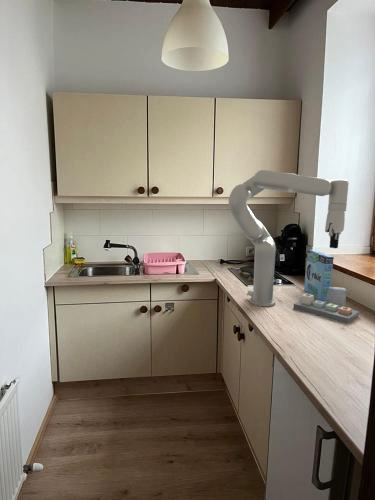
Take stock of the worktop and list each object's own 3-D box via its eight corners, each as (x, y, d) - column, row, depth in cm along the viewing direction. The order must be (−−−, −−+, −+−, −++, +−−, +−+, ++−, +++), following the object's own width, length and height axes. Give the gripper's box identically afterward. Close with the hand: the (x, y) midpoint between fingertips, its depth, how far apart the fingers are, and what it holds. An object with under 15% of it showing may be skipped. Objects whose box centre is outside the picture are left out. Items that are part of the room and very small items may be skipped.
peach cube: (338, 317, 150) (338, 308, 149) (341, 314, 153) (342, 305, 152) (347, 319, 147) (348, 310, 146) (351, 317, 150) (352, 308, 149)
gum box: (303, 290, 191) (306, 249, 187) (312, 290, 191) (315, 249, 187) (320, 301, 172) (324, 256, 168) (330, 301, 172) (334, 256, 168)
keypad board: (293, 308, 161) (293, 303, 160) (305, 303, 169) (305, 298, 169) (348, 324, 143) (348, 318, 143) (358, 316, 151) (359, 311, 151)
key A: (325, 313, 154) (325, 304, 153) (328, 311, 157) (329, 302, 156) (334, 316, 151) (334, 307, 150) (337, 313, 154) (338, 304, 153)
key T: (312, 310, 158) (313, 301, 157) (316, 308, 161) (317, 299, 160) (321, 312, 155) (321, 303, 155) (325, 310, 158) (325, 301, 157)
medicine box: (343, 304, 167) (345, 287, 166) (345, 307, 163) (346, 290, 161) (326, 303, 169) (327, 286, 168) (327, 306, 165) (328, 288, 164)
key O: (301, 303, 162) (302, 294, 161) (305, 301, 165) (306, 292, 164) (309, 305, 159) (310, 296, 158) (313, 303, 162) (314, 294, 161)
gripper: (335, 206, 161) (332, 245, 165) (321, 207, 151) (318, 248, 154) (352, 207, 156) (348, 247, 159) (338, 208, 146) (335, 250, 149)
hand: (333, 247), depth 157 cm, fingers closed
